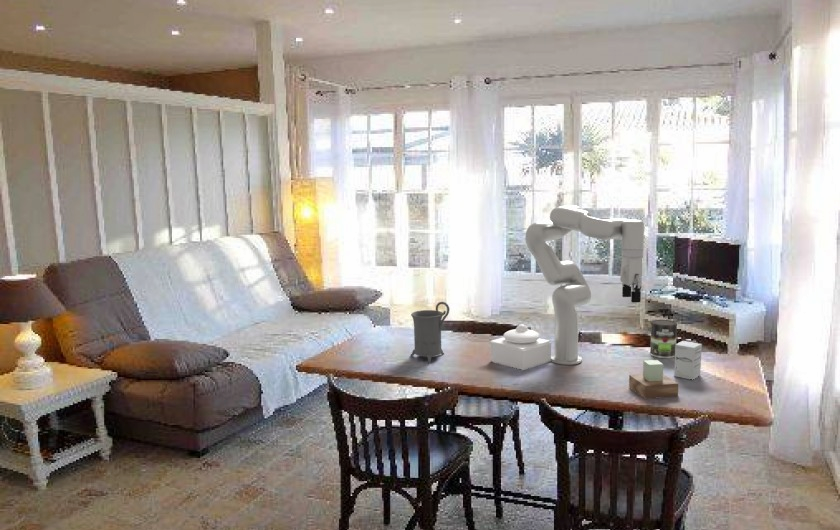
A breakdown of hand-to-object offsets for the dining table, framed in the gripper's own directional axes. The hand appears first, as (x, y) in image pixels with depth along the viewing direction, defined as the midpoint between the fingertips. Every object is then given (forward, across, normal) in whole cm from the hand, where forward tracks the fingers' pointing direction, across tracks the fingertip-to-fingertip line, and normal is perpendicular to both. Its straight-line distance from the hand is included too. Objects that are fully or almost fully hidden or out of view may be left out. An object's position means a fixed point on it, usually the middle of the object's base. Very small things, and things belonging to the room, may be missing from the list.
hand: (631, 299), depth 235 cm
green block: (+26, +15, +3) cm, 30 cm away
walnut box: (+31, +15, +3) cm, 34 cm away
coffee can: (+31, -28, +24) cm, 48 cm away
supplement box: (+30, 0, +22) cm, 38 cm away
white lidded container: (+31, -25, -37) cm, 54 cm away
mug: (+31, -34, -74) cm, 87 cm away
